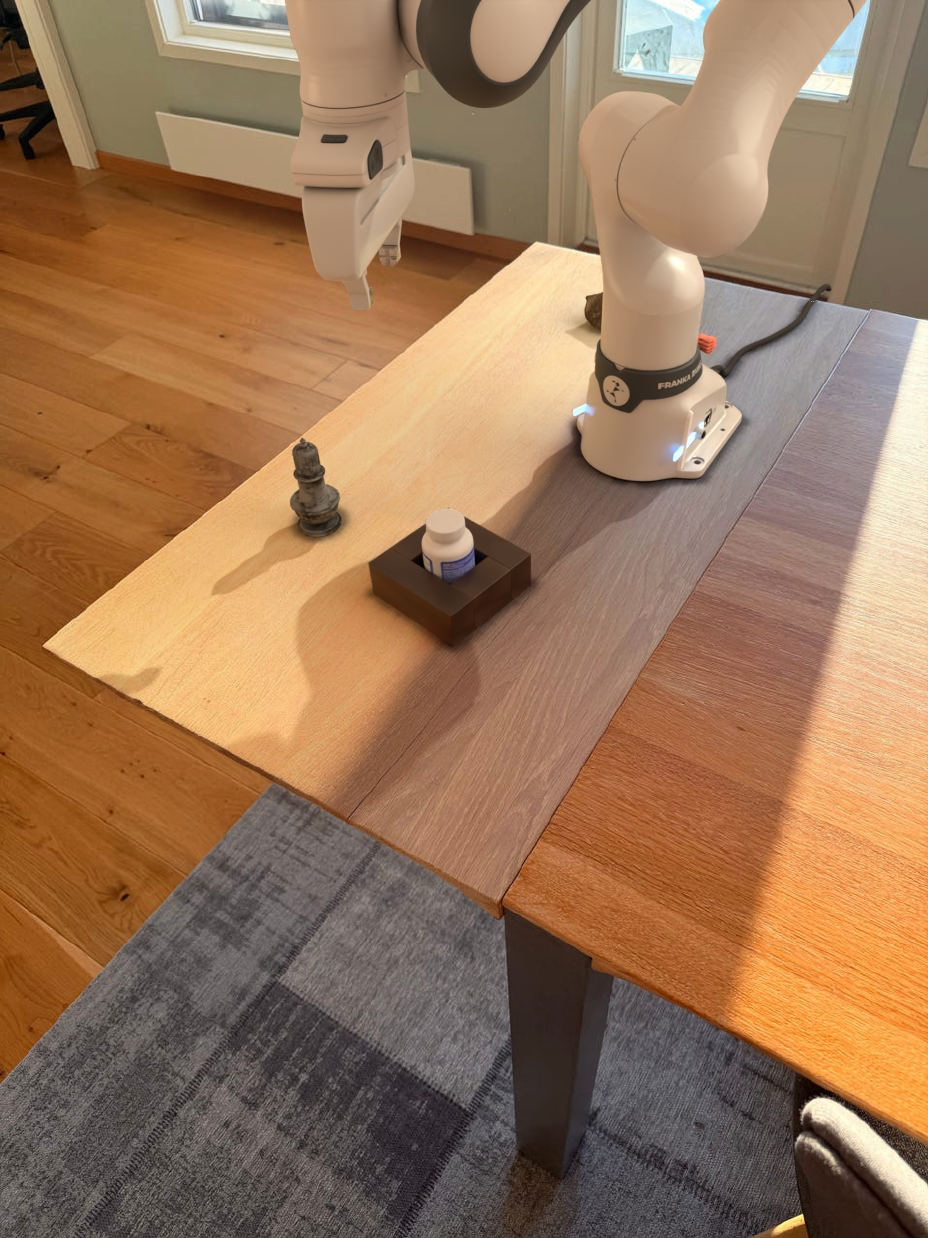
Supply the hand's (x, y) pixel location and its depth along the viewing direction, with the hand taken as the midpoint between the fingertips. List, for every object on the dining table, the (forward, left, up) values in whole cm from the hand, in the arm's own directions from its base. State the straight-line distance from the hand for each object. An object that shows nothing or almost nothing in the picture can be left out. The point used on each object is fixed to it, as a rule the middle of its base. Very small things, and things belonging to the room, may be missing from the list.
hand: (377, 284), depth 88 cm
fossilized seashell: (-53, -9, -29) cm, 61 cm away
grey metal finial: (+8, -7, -29) cm, 31 cm away
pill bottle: (+6, +13, -29) cm, 32 cm away
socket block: (+6, +13, -29) cm, 32 cm away
